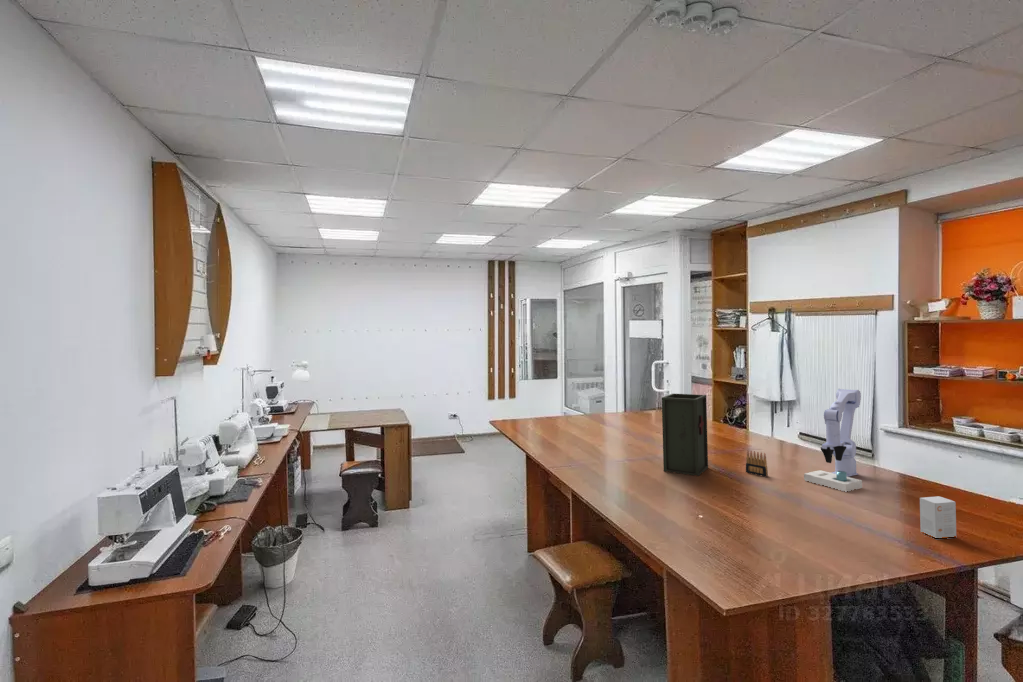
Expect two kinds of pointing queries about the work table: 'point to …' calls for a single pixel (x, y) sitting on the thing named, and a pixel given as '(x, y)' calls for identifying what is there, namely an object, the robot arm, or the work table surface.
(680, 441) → the dark green bin
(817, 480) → the bore block
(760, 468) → the ammunition clip
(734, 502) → the work table surface
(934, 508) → the small box
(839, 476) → the teal cylinder
